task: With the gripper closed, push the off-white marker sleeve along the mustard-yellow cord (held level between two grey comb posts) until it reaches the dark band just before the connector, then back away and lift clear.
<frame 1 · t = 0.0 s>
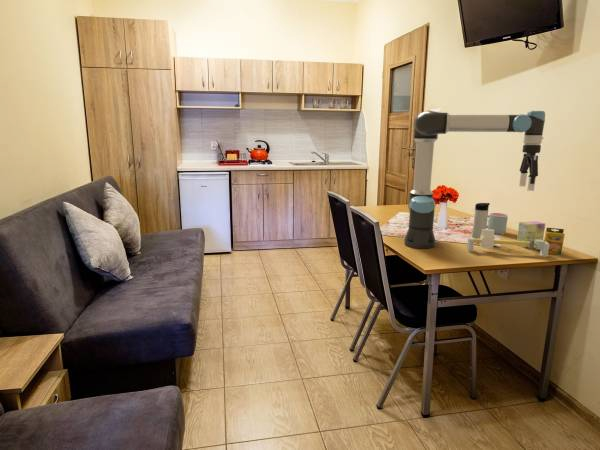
hand: (526, 188, 202), 28 cm above the table, fingers open, 13 cm apart
box: (528, 246, 205), on the table
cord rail: (506, 252, 193), on the table
travel mug: (478, 241, 212), on the table
mug: (491, 232, 231), on the table
sleeve: (487, 238, 194), point 7 cm above the table, slide at 0.0 cm
crayon box: (551, 253, 194), on the table
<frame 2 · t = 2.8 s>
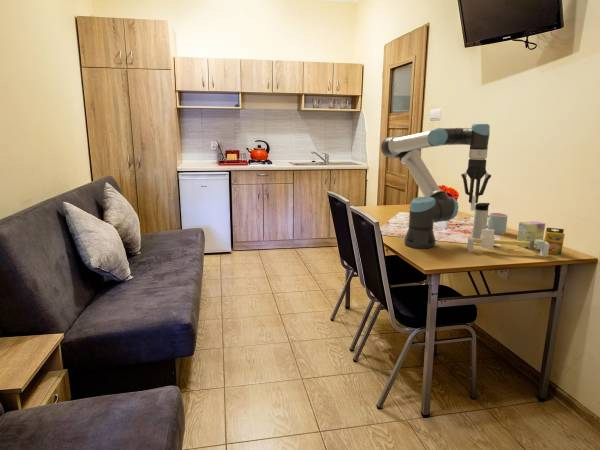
hand: (472, 209, 192), 20 cm above the table, fingers closed
nothing on the table moved.
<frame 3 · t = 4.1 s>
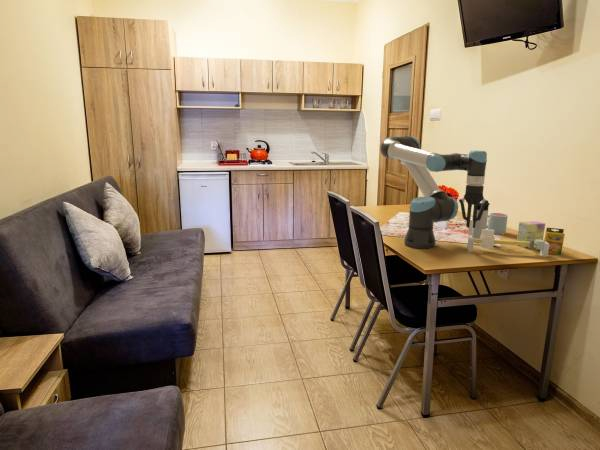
hand: (469, 234, 195), 8 cm above the table, fingers closed
nothing on the table moved.
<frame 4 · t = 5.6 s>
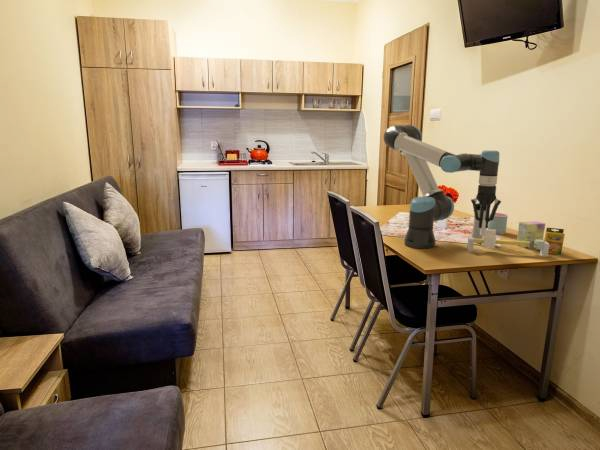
hand: (482, 234, 194), 8 cm above the table, fingers closed
sleeve: (489, 238, 194), point 7 cm above the table, slide at 0.9 cm, touching gripper
everything else where it was.
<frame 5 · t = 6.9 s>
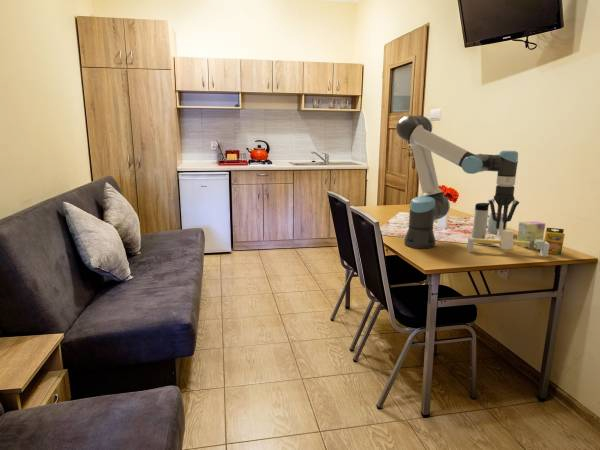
hand: (499, 235, 192), 8 cm above the table, fingers closed
sleeve: (506, 239, 192), point 7 cm above the table, slide at 8.4 cm, touching gripper
everything else where it was.
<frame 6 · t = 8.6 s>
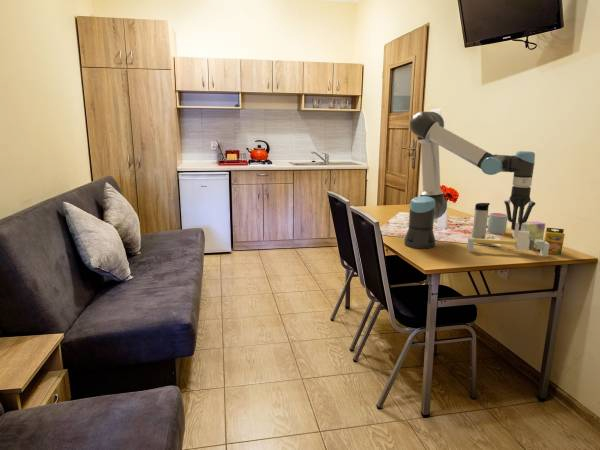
hand: (514, 236, 191), 8 cm above the table, fingers closed
sleeve: (522, 240, 190), point 7 cm above the table, slide at 15.1 cm, touching gripper
everything else where it was.
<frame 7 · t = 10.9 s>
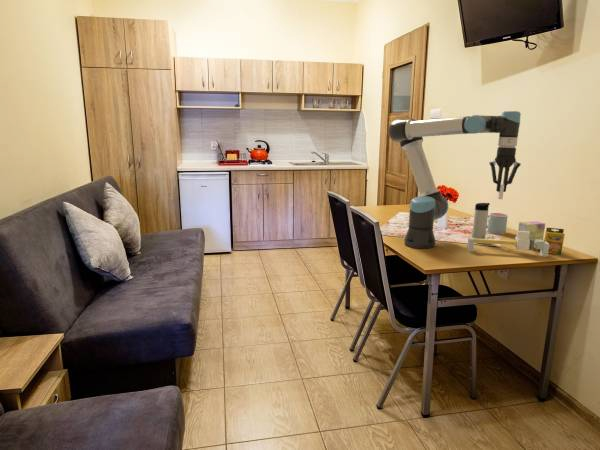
hand: (499, 198, 190), 25 cm above the table, fingers closed
sleeve: (522, 240, 190), point 7 cm above the table, slide at 15.2 cm
everything else where it was.
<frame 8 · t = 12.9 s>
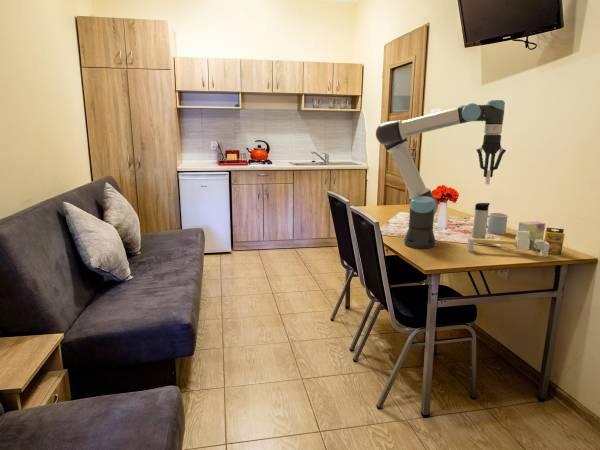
hand: (487, 183, 200), 30 cm above the table, fingers closed
nothing on the table moved.
at the end: sleeve slide at 15.2 cm; the gripper is holding nothing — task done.
